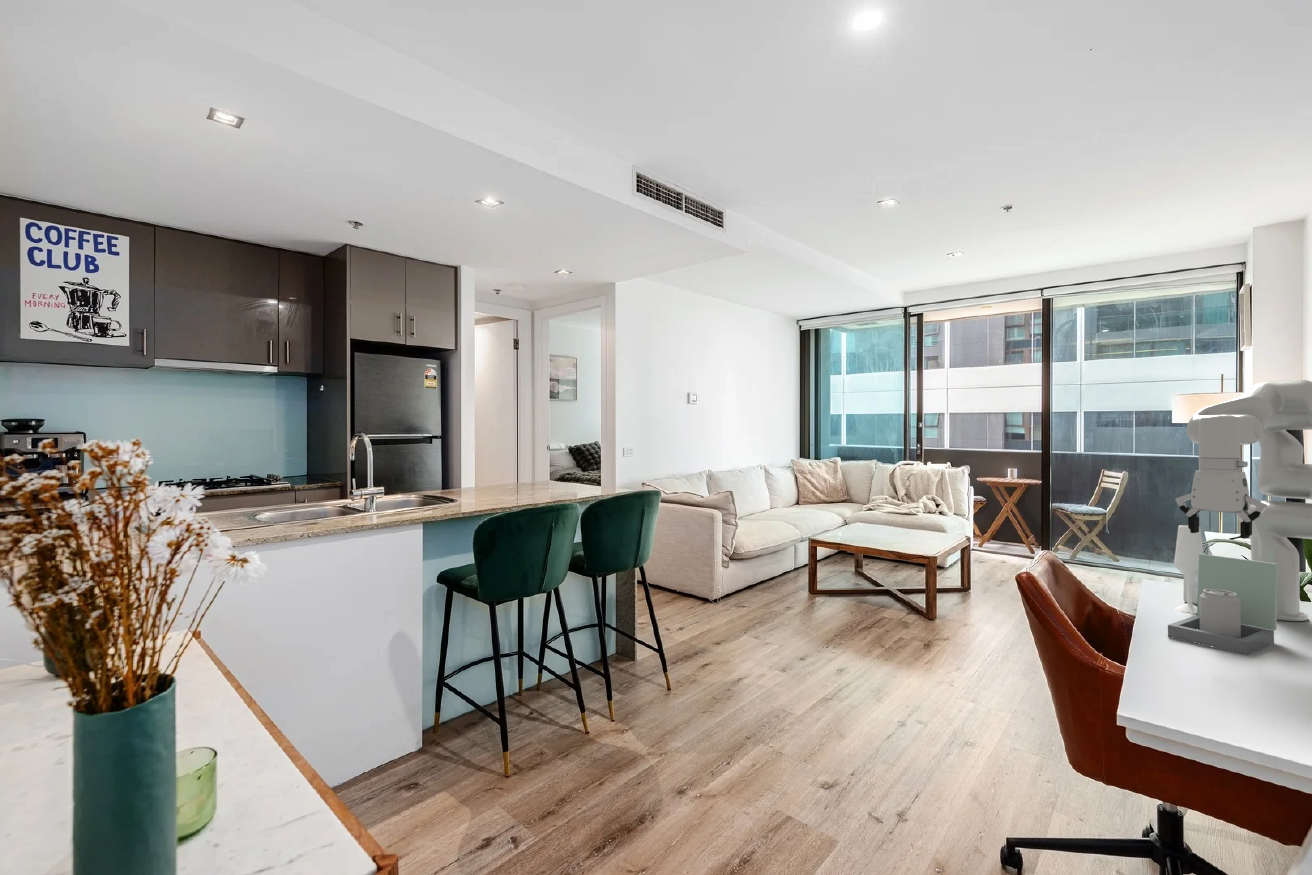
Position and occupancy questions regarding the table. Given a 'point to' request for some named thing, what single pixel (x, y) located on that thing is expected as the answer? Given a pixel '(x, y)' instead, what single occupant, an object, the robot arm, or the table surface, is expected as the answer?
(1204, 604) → the can
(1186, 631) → the duct box
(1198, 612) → the plate
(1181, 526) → the champagne flute
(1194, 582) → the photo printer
